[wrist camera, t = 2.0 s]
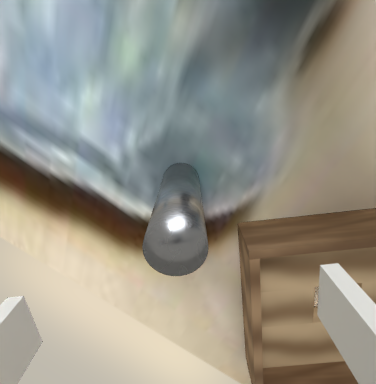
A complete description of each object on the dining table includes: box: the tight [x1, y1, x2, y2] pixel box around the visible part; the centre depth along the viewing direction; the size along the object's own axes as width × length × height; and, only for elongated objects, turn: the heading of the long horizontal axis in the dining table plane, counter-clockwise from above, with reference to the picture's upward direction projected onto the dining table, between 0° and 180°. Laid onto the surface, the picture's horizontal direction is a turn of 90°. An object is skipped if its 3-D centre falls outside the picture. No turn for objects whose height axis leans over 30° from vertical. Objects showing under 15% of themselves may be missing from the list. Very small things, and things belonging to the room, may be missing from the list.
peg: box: [143, 163, 208, 276], centre depth 22 cm, size 4×4×14 cm
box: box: [238, 208, 376, 384], centre depth 31 cm, size 22×22×6 cm
